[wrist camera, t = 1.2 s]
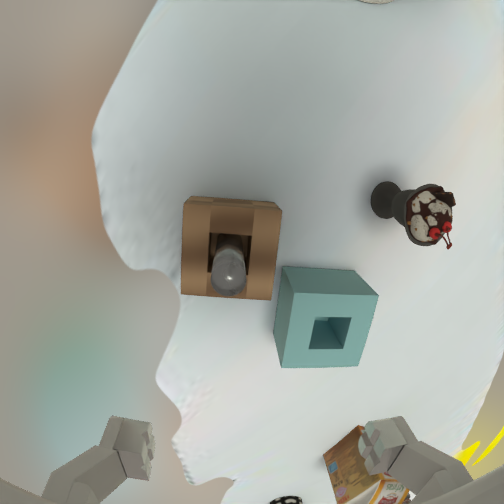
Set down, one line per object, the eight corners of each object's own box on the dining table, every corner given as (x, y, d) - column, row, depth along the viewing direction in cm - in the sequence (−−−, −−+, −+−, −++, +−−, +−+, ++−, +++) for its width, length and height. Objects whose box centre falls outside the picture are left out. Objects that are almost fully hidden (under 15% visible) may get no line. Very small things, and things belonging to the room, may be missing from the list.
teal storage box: (282, 266, 40) (294, 292, 32) (354, 270, 41) (378, 295, 33) (273, 332, 43) (281, 367, 35) (339, 333, 44) (357, 366, 36)
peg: (217, 228, 37) (211, 261, 26) (243, 230, 37) (248, 264, 26) (216, 252, 38) (209, 295, 26) (240, 254, 38) (244, 297, 27)
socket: (191, 195, 37) (183, 203, 31) (274, 202, 37) (282, 211, 32) (187, 274, 39) (180, 294, 34) (265, 279, 40) (270, 300, 35)
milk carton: (323, 454, 53) (344, 527, 35) (357, 425, 51) (389, 500, 33) (356, 461, 56) (379, 525, 38) (389, 433, 53) (421, 499, 35)
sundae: (370, 231, 39) (433, 271, 25) (359, 182, 37) (426, 201, 23) (410, 217, 39) (481, 249, 25) (402, 170, 37) (476, 183, 23)
